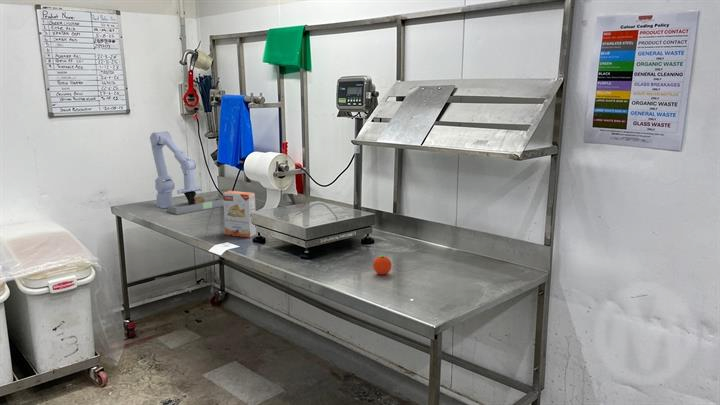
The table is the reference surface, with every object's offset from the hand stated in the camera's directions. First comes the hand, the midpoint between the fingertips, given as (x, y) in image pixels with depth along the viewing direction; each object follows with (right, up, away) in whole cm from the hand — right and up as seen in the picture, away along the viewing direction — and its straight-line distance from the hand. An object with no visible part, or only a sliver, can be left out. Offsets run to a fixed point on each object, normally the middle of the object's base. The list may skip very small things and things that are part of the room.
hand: (190, 204), depth 301 cm
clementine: (+106, -26, -104) cm, 150 cm away
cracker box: (+41, -15, -52) cm, 67 cm away
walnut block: (+3, 0, +3) cm, 5 cm away
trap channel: (+3, -3, +4) cm, 5 cm away
